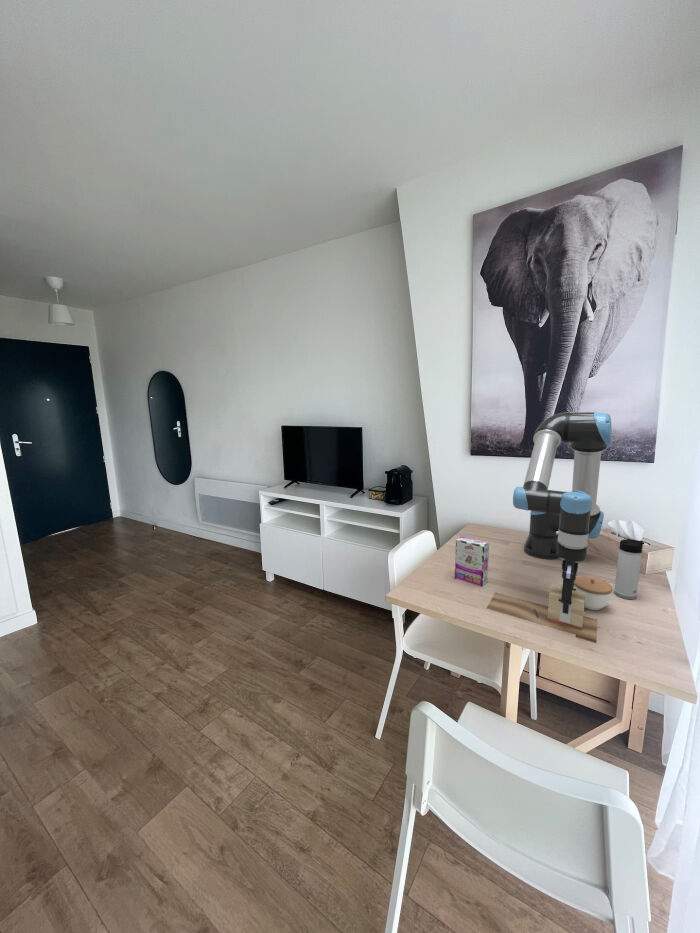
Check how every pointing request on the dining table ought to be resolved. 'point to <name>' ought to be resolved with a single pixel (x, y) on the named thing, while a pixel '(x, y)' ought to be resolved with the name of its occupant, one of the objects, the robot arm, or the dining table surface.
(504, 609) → the board
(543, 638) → the dining table surface
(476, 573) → the candy bar box
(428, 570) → the dining table surface
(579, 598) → the block
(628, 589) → the travel mug
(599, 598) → the lidded jar
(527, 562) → the dining table surface
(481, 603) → the dining table surface
